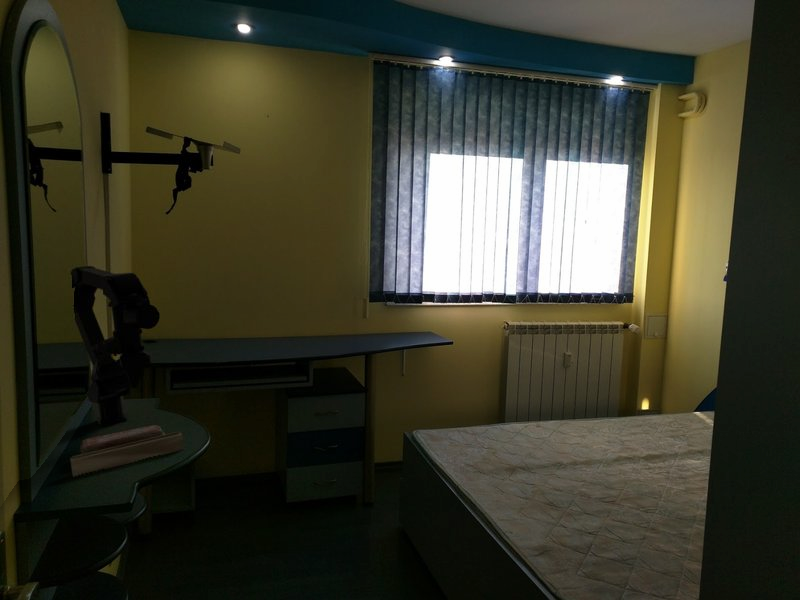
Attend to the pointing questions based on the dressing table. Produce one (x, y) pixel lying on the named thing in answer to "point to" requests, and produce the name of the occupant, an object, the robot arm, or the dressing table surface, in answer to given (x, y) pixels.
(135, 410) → the dressing table surface
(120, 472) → the dressing table surface
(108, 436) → the packaged product
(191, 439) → the dressing table surface
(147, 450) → the oak rail
